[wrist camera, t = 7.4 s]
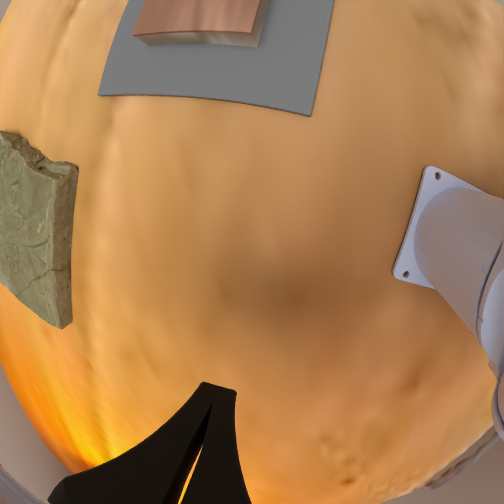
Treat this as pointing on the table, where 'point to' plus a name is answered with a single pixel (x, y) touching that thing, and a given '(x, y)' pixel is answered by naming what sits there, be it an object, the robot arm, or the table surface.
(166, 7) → the slab
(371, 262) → the table surface
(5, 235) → the decorative tile
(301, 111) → the mat
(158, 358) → the table surface
